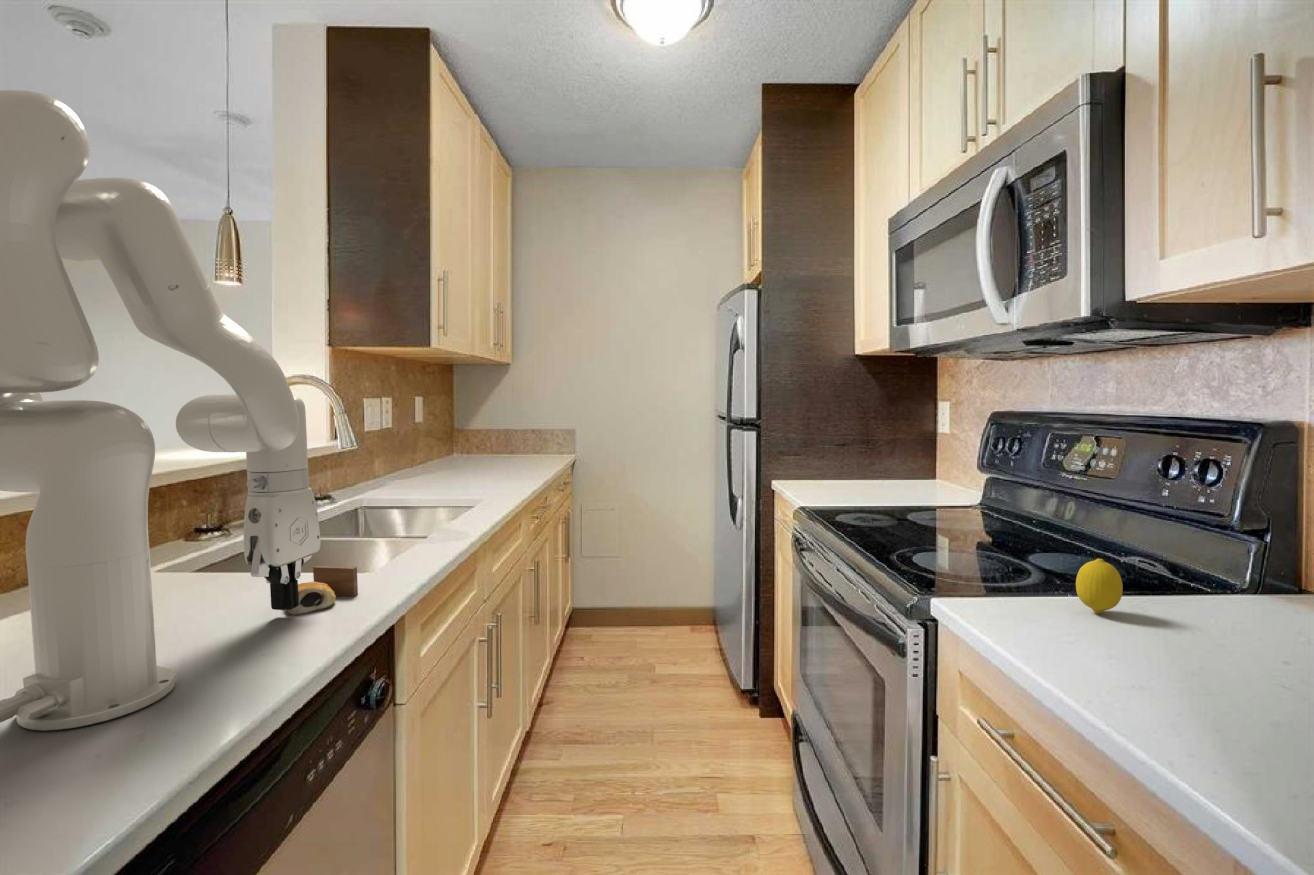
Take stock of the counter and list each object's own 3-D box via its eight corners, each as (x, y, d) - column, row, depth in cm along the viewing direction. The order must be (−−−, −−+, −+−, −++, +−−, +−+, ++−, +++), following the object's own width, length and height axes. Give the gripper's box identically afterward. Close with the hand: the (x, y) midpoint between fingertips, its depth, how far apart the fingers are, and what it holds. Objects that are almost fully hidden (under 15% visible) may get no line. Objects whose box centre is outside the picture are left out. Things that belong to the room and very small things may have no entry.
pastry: (281, 601, 101) (280, 577, 101) (328, 593, 105) (328, 570, 105) (287, 617, 93) (286, 592, 93) (338, 608, 97) (338, 584, 97)
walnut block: (354, 596, 102) (353, 568, 102) (314, 594, 103) (313, 567, 103) (357, 594, 103) (356, 567, 103) (318, 592, 104) (317, 565, 104)
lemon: (1114, 623, 88) (1116, 565, 87) (1068, 612, 92) (1070, 558, 92) (1126, 614, 91) (1129, 559, 91) (1082, 604, 96) (1084, 551, 95)
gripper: (262, 490, 83) (270, 628, 85) (336, 475, 98) (341, 593, 99) (212, 489, 85) (219, 625, 86) (292, 475, 99) (297, 591, 101)
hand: (285, 607), depth 93 cm, fingers closed
